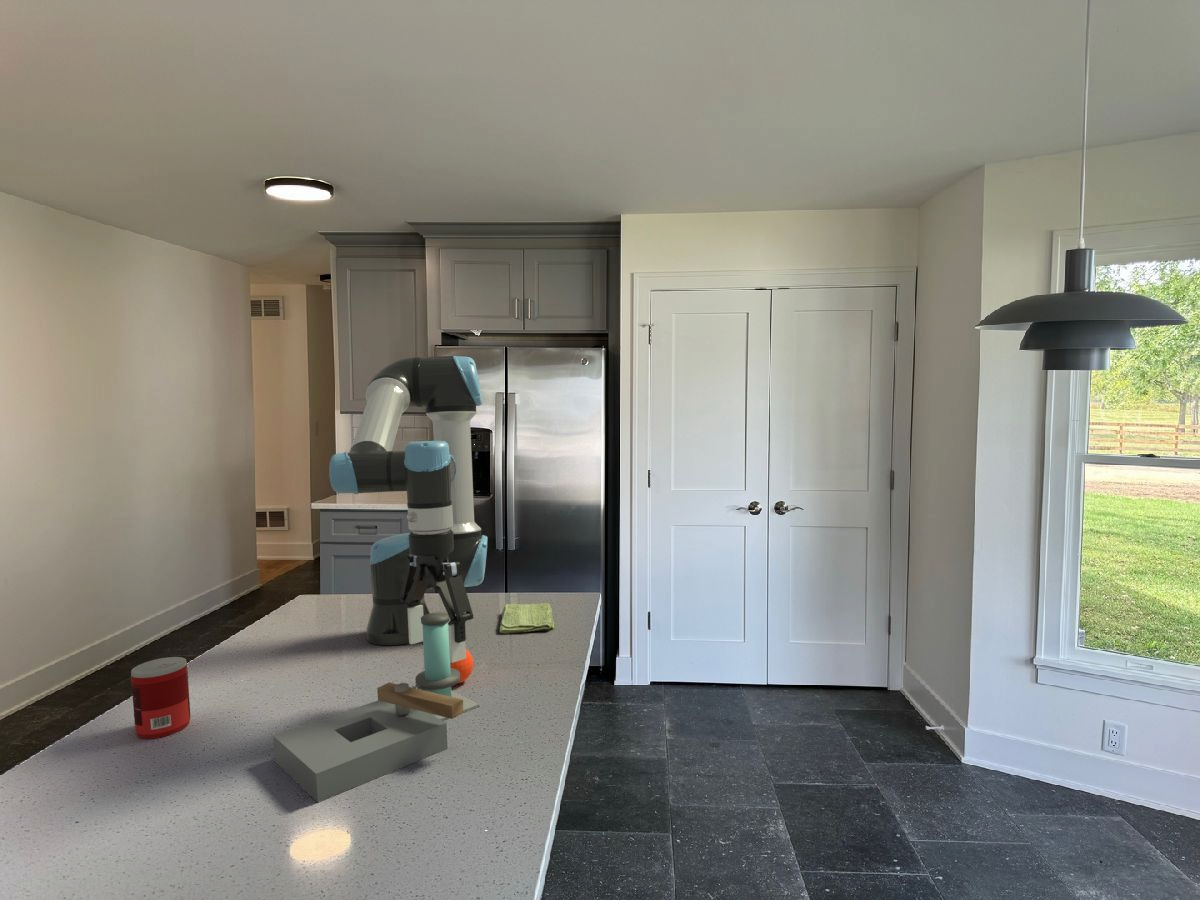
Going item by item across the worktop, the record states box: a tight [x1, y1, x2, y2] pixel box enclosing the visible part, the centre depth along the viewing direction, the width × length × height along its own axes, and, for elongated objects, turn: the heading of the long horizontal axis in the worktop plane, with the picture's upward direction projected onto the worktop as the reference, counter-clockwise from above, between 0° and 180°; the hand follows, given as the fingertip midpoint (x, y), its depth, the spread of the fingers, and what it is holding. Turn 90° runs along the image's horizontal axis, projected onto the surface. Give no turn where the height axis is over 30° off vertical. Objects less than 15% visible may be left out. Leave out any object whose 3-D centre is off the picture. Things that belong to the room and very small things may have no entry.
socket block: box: [272, 699, 448, 803], centre depth 105 cm, size 16×20×4 cm
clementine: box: [450, 648, 474, 684], centre depth 133 cm, size 8×7×7 cm
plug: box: [415, 612, 460, 697], centre depth 121 cm, size 8×8×16 cm
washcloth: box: [499, 602, 556, 635], centre depth 169 cm, size 13×18×3 cm
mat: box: [431, 689, 480, 721], centre depth 122 cm, size 10×10×1 cm
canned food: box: [130, 656, 192, 740], centre depth 116 cm, size 8×8×11 cm
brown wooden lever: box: [376, 682, 464, 720], centre depth 108 cm, size 2×16×4 cm, turn 60°
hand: (436, 650), depth 121 cm, fingers open, 13 cm apart
